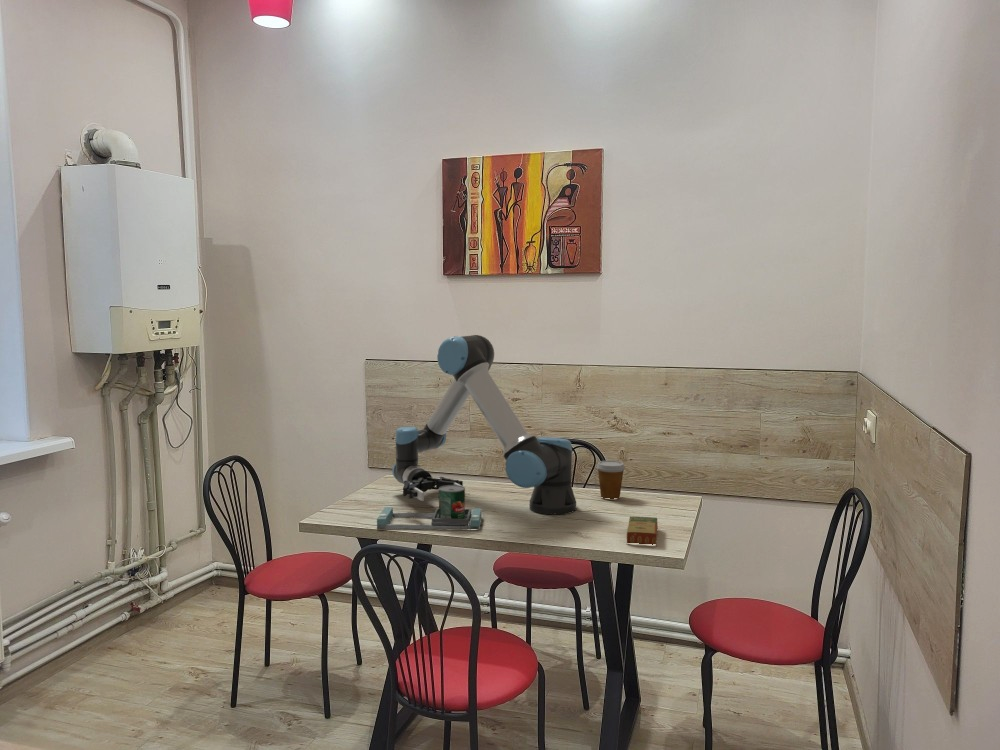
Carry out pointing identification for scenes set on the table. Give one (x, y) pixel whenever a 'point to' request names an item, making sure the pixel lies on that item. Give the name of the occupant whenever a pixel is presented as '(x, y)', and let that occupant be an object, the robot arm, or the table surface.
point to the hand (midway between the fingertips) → (443, 494)
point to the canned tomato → (452, 502)
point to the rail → (422, 515)
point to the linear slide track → (388, 511)
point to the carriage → (450, 521)
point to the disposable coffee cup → (610, 478)
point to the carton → (642, 530)
